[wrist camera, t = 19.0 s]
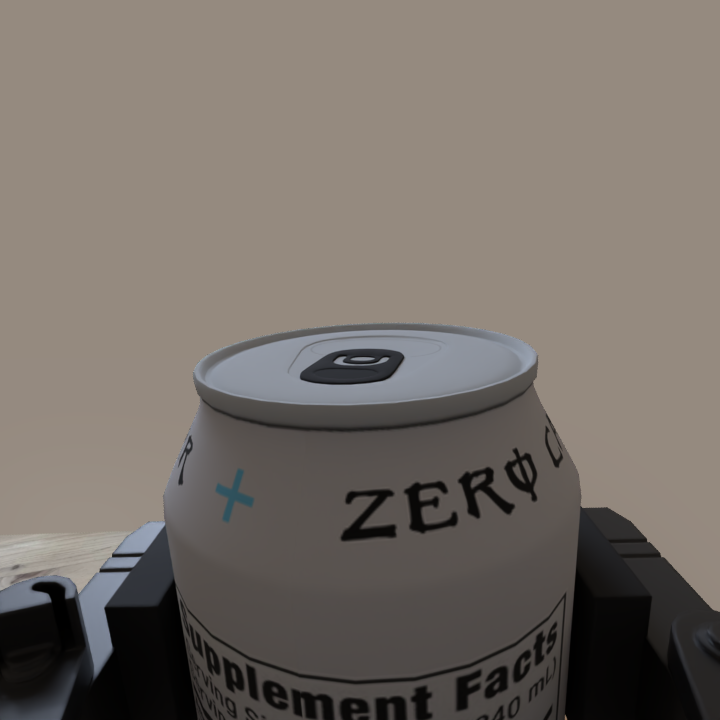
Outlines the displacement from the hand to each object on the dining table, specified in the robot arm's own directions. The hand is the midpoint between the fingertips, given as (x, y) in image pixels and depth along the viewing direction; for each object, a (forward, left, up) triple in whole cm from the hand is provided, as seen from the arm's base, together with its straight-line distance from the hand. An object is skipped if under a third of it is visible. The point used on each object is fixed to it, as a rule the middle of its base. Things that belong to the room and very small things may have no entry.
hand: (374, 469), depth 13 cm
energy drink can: (-4, -3, -11) cm, 12 cm away
